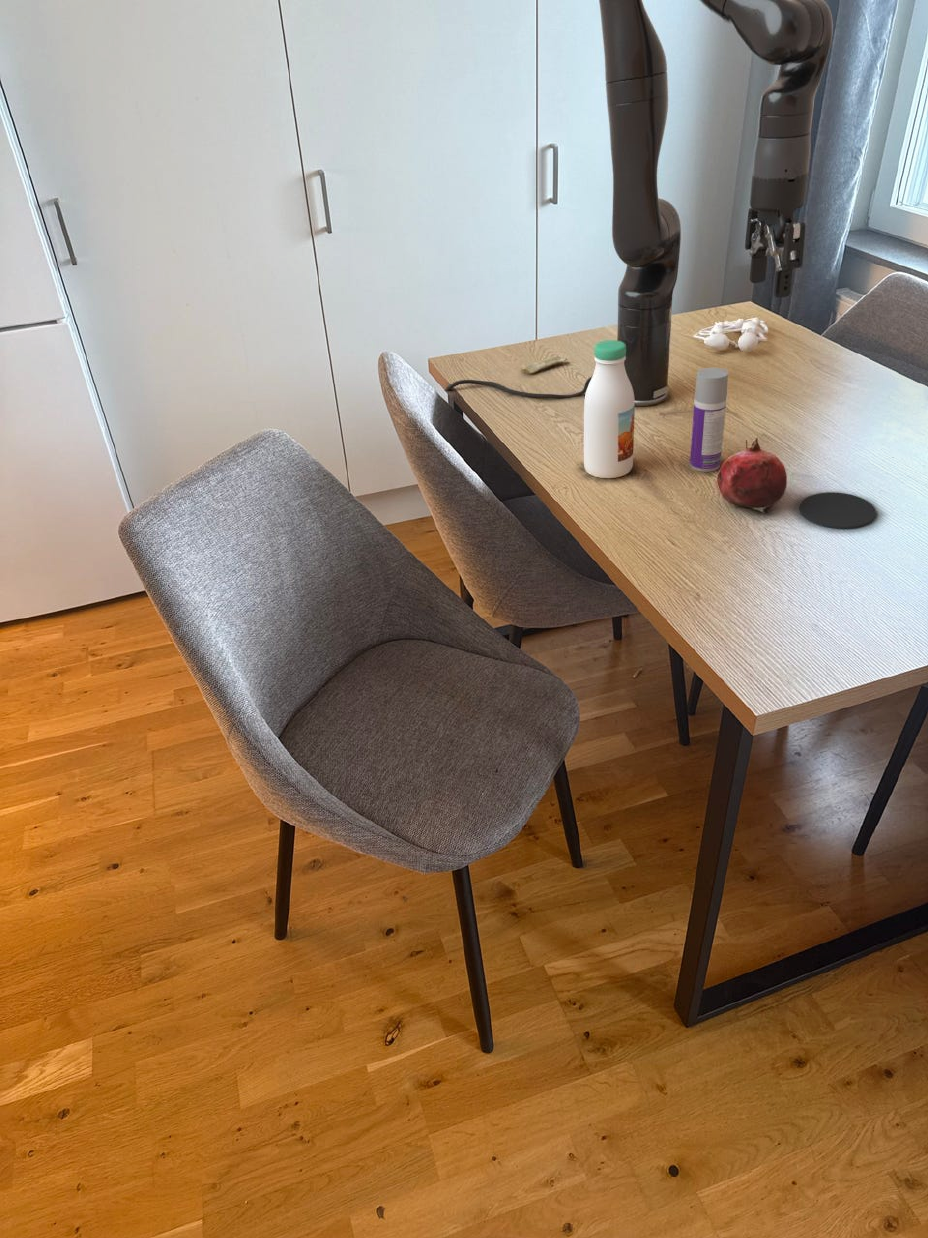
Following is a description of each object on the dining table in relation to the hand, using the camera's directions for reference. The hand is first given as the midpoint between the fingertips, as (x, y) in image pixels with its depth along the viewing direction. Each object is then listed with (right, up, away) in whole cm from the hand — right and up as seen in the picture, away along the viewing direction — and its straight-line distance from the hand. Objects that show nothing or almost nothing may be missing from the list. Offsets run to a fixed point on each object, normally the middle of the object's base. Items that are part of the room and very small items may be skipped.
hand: (769, 289), depth 136 cm
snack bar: (-30, +1, +47) cm, 55 cm away
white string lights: (+9, +8, +51) cm, 52 cm away
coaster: (+7, -34, -8) cm, 36 cm away
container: (-8, -26, +7) cm, 28 cm away
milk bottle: (-23, -26, +8) cm, 35 cm away
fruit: (-4, -33, -5) cm, 34 cm away
